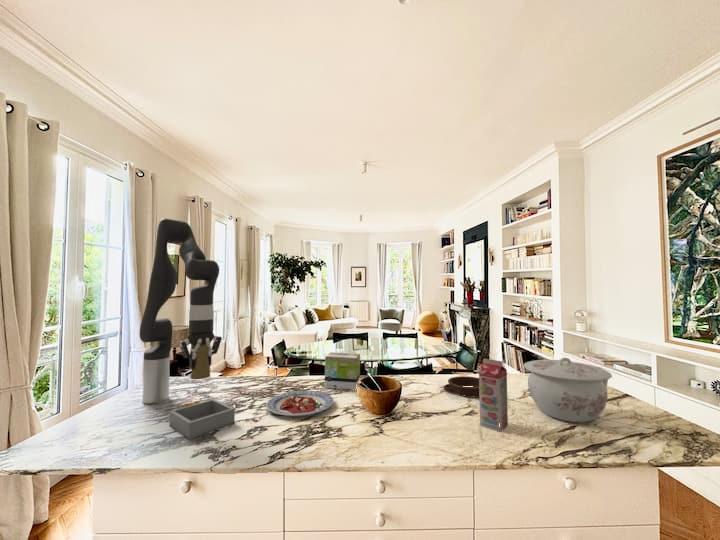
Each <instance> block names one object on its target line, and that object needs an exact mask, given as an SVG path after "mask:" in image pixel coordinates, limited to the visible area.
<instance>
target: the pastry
mask: <svg viewBox="0 0 720 540" xmlns="http://www.w3.org/2000/svg"><path fill="white" fill-rule="evenodd" d="M197 403H200V401H198V400H195V401H194V402H187V403H185V404H183V405H181V406H179V407H177V408H175V409H174V410H176V409H179V408H183V407H186V406H190V405H194V404H197Z"/></svg>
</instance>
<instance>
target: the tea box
mask: <svg viewBox="0 0 720 540" xmlns="http://www.w3.org/2000/svg"><path fill="white" fill-rule="evenodd" d="M324 359H325V360H324V388H325V389H335V388H336V389H337V390H338V389H339V390H346V389H354V390H353V391H356V390H357V389H356V384H357V382H358V381H359V378H360V379H361V354H360V353H351V352H350V353H348V352H346V353H345V352H329V353H328V354H327V355H326V356H324ZM336 389H335V390H336ZM355 389H356V390H355Z"/></svg>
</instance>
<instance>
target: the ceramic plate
mask: <svg viewBox="0 0 720 540" xmlns="http://www.w3.org/2000/svg"><path fill="white" fill-rule="evenodd" d="M316 400H317V402H316ZM318 402H319V403H320V404H319V403H318ZM332 405H334V398H333V397H332V396H331V395H330V394H327V393H324V392H322V391H321V392H320V391H316V390H298V391H297V390H295V391H288V392H285V393H280V394H278V395H275V396H273V397H271V398H270V399H268V401H266V404H265V407H266V409H267V410H268V411H270V412H271V413H274V414H276V415H281V416H287V417H288V416H290V417H291V416H292V417H298V416H308V415H313V414H316V413H320V412H323V411H325V410H327V409H329V408H330V407H331V406H332ZM320 406H321V407H320Z"/></svg>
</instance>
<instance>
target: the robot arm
mask: <svg viewBox="0 0 720 540" xmlns="http://www.w3.org/2000/svg"><path fill="white" fill-rule="evenodd" d="M157 225H158V226H157V231H156V242H155V251H154V258H153V265H152V269H151V274H150V279H149V285H148V292H147V298H146V303H145V307H144V310H143V315H142V319H141V322H140V326H139V340H140V341H141V342H142V343H144V344H145V343H155V342H157V343H156V344H155V345H154V346H153V347H152V348H149V349H147V350H146V351H145V352H143V373H142V374H143V377H142V403H143V404H156V403H160V402H161V403H163V402H164V401H166V400H168V399H169V396H170V371H171V370H170V367H171V366H170V365H171V363H170V362H171V350H172V343H173V342H172V340H173V332H174V331H173V328H174V327H173V324H172V321H171V320H170V318H157V317H158V315H159V311H160V310H161V308H162V307H163V306H164V305H165V304H166V302H168V301H169V299H170V298H171V297H172V296H173V294H174V293H175V291H176V286H177V281H178V273H177V270H176V267H175V266H174V264H173V261H171V258H170V256H169V252H168V243H173V244H181V245H180V246H179V250H178V251H179V252H178V253H179V256H180V258H181V259H182V262H183V263H184V268H185V269H184V273H185V276H186V278H187V279H189V280H191V281H205V282H204V283H203V285H202V286H201V285H200V286H197V287H194V288H192V289H191V290H190V299H189V300H190V303H189V304H190V305H189V310H188V311H189V312H188V315H189V317H188V336H187V338H186V339H184V340H179V342H178V345H179V348H180V351H181V353H182V356H183V358H186V359H189V369H190V370H191V371H192V370H193V371H194V370H195V365H196V359H195V358H196V355H197V354H196V352H197V349H198V347H199V346H200V345H203V344H206V345H208V346H209V352H208V362H209V368H211V365H212V356H213V355H216V354H218V351H219V349H220V345H221V341H222V336H219V335H215V334H214V319H215V314H214V313H215V311H214V291H215V287H216V284H217V282H218V279H219V278H218V277H219V275H220V266H219V264H218V262H217V261H215V260H211V259H206V255H205V253H204V252H203V251H202V249H201V248H200V246H199V245H198V244H197V240H196V238H195V234H194V232H193V230H192V228H191V226H190V224H189V223H188V222H186V221H182V220H176V219H172V218H161V219H160V221H159V223H158V224H157ZM212 342H213V343H212ZM211 343H212V346H211ZM189 344H190V349H189V348H188V346H189ZM193 347H194V348H195V349H193ZM189 350H190V351H189Z"/></svg>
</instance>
